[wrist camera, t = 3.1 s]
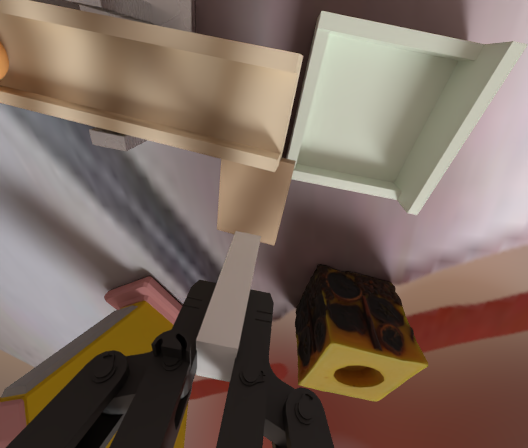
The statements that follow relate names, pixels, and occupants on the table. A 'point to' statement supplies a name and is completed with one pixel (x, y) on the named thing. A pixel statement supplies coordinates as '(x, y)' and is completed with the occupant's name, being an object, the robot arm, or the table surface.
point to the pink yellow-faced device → (93, 353)
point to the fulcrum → (146, 11)
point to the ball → (3, 62)
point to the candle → (354, 336)
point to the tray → (390, 106)
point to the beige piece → (163, 96)
